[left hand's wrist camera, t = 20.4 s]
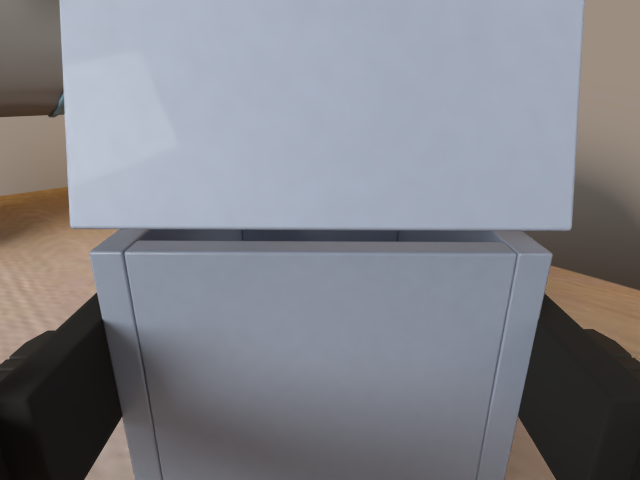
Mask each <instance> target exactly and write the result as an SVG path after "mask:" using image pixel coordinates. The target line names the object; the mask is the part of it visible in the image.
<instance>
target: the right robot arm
mask: <svg viewBox="0 0 640 480" xmlns="http://www.w3.org/2000/svg"><path fill="white" fill-rule="evenodd" d="M63 114H65V108H64V87H63V66H62V45H61V24H60V3H59V0H0V117H13V116H37V115H48V116H49V117H56V116H58V115H63Z"/></svg>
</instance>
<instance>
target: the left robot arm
mask: <svg viewBox="0 0 640 480" xmlns="http://www.w3.org/2000/svg"><path fill="white" fill-rule="evenodd" d="M122 416H123V415H122V410H121V406H120V401H119V396H118V391H117V386H116V382H115V377H114V372H113V367H112V362H111V357H110V353H109V348H108V343H107V338H106V333H105V328H104V324H103V319H102V315H101V310H100V305H99V300H98V295H97V293H96V294H95V295H94V296H93V297H92V298H90V299H89V300H88V301H87V302H86V303H85V304H84V305H83V306H82V307H81V308H80V309H79V310H77V311H76V312H75V313H74V314H73V315H72V316H71V317H70V318H69V319H68V320H67V321H66V322H64V323H63V324H62V325H61V326H60V327H59V328H58V329H57V330H56V331H46V332H44V333H43V334H41V335H39V336H37V337H35V338H33V339H32V340H30V341H28V342H26V343H25V344H24V345H22V346H21V347H20V348H19V349H18V350H17V351H16V352H14V353H13V354H12V355H11V356H10V359H6V360H5V361H4V362H3V363H2V364H1V365H0V480H84V479H85V477H86V476H87V474H88V472H89V471H90V469H91V467H92V466H93V464H94V462H95V461H96V459H97V457H98V456H99V454H100V452H101V451H102V449H103V447H104V446H105V444H106V442H107V441H108V439H109V437H110V436H111V434H112V432H113V431H114V429H115V427H116V426H117V424H118V422H119V421H120V419H121V417H122ZM518 417H519V418H520V420H521V422H522V423H523V425H524V427H525V428H526V430H527V432H528V433H529V435H530V437H531V438H532V440H533V442H534V443H535V445H536V447H537V448H538V450H539V452H540V453H541V455H542V457H543V458H544V460H545V462H546V463H547V465H548V467H549V468H550V470H551V472H552V473H553V475H554V477H555V478H556V480H640V362H639V361H638V360H636V359H635V358H632V357H631V354H629V353H628V352H627V351H626V350H625V349H624V348H622V347H621V346H620V345H619V344H618V343H617V342H616V341H614V340H612V339H610V338H608V337H606V336H605V335H603V334H601V333H599V332H597V331H595V330H593V329H583V328H581V327H580V326H579V325H578V324H577V323H576V322H575V321H574V320H573V319H572V318H571V317H570V316H568V315H567V314H566V313H565V312H564V311H563V310H562V309H561V308H560V307H559V306H558V305H557V304H555V303H554V302H553V301H552V300H551V299H550V298H549V297H548V296H547V295H546V294H545V293H544V298H543V302H542V307H541V312H540V316H539V319H538V323H537V328H536V332H535V337H534V342H533V347H532V351H531V356H530V361H529V366H528V370H527V375H526V380H525V385H524V389H523V394H522V399H521V404H520V408H519V413H518Z"/></svg>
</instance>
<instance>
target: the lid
mask: <svg viewBox="0 0 640 480" xmlns="http://www.w3.org/2000/svg"><path fill="white" fill-rule="evenodd" d="M59 3H60V24H61V45H62V66H63V87H64V108H65V129H66V150H67V171H68V193H69V214H70V226H71V228H74V229H203V230H426V231H569V230H571V228H572V214H573V197H574V179H575V162H576V144H577V126H578V109H579V91H580V73H581V56H582V39H583V21H584V3H585V0H59Z"/></svg>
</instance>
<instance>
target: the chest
mask: <svg viewBox="0 0 640 480" xmlns="http://www.w3.org/2000/svg"><path fill="white" fill-rule="evenodd" d="M89 256H90V260H91V265H92V270H93V275H94V280H95V285H96V290H97V295H98V300H99V305H100V310H101V315H102V319H103V324H104V328H105V333H106V338H107V343H108V348H109V353H110V357H111V362H112V367H113V372H114V377H115V382H116V386H117V391H118V396H119V401H120V406H121V410H122V415H123V416H122V418H123V423H124V428H125V433H126V437H127V442H128V447H129V452H130V457H131V462H132V467H133V472H134V477H135V480H504V479H505V474H506V470H507V465H508V460H509V456H510V451H511V446H512V442H513V437H514V432H515V428H516V423H517V419H518V413H519V408H520V404H521V399H522V394H523V389H524V385H525V380H526V375H527V370H528V366H529V361H530V356H531V351H532V347H533V342H534V337H535V332H536V328H537V323H538V319H539V316H540V312H541V307H542V302H543V298H544V293H545V289H546V284H547V279H548V275H549V270H550V265H551V261H552V256H553V255H552V253H551V252H549V251H548V250H547V249H545V248H544V247H543V246H541V245H540V244H538V243H537V242H536V241H534V240H533V239H532V238H530V237H529V236H528V235H526V234H525V233H524V232H522V231H426V230H203V229H120V230H118V231H117V232H116V233H114V234H113V235H112V236H110V237H109V238H107V239H106V240H105V241H103V242H102V243H101V244H99V245H98V246H97V247H95V248H94V249H93V250H91V251H90V253H89Z"/></svg>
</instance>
